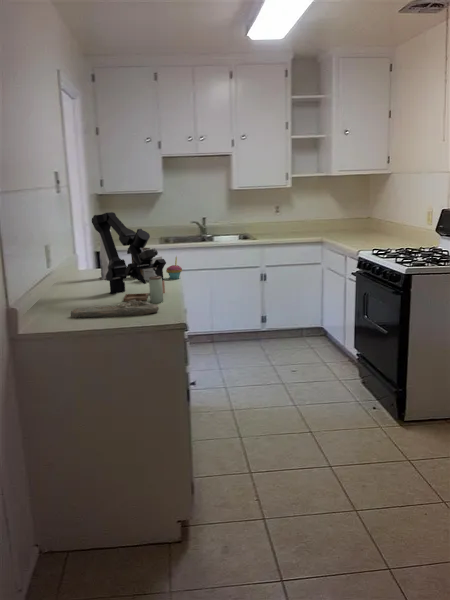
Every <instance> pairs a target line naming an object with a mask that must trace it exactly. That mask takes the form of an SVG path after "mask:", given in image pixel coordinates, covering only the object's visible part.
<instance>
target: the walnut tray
mask: <svg viewBox="0 0 450 600" xmlns="http://www.w3.org/2000/svg"><path fill="white" fill-rule="evenodd" d="M148 297H149V293H148V292H146V293H145V292H144V293H127V294H125V295H124V297H123V303H126V302H129V301H131V300H134V299H135V300H136V301H141V302H148V301H147V300H148Z"/></svg>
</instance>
